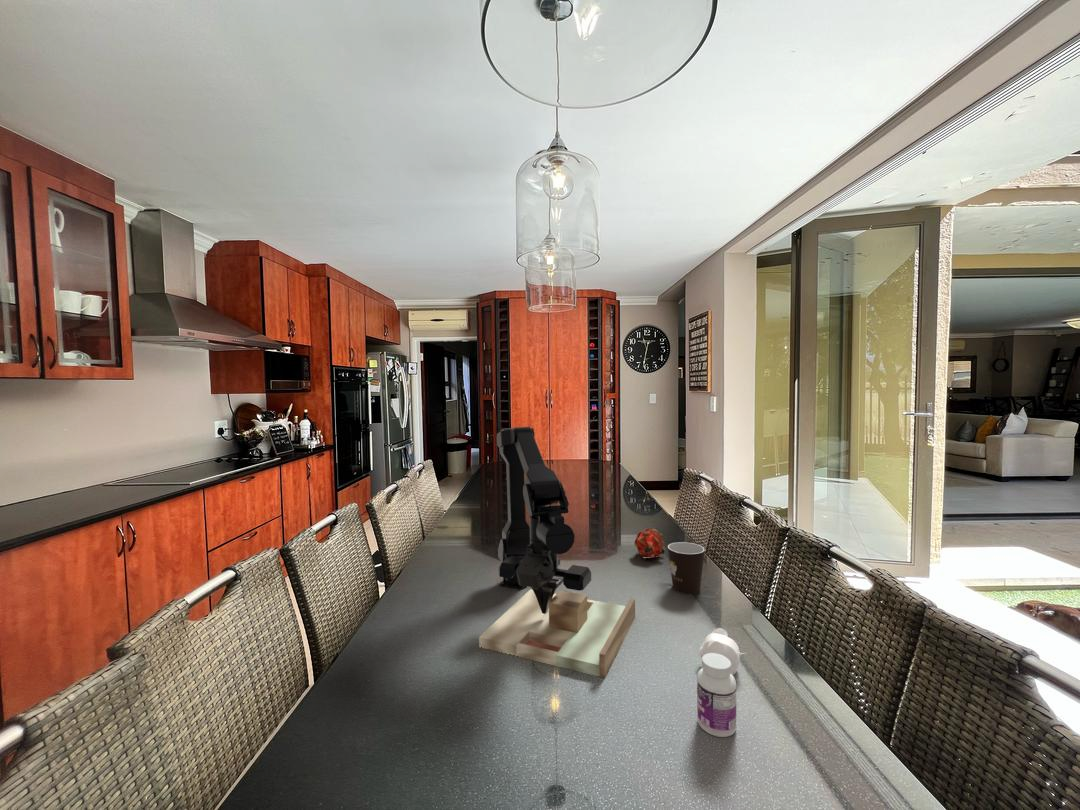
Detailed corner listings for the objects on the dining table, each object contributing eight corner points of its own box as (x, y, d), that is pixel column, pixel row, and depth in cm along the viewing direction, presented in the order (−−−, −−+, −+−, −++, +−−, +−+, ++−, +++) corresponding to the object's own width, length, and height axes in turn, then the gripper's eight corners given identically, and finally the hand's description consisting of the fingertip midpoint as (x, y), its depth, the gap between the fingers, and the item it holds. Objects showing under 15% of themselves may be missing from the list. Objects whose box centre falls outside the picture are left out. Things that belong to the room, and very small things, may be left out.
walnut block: (549, 627, 92) (548, 602, 92) (560, 613, 98) (559, 590, 98) (577, 633, 90) (577, 607, 90) (587, 619, 95) (587, 595, 95)
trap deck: (479, 647, 89) (478, 626, 89) (530, 597, 110) (530, 580, 110) (605, 678, 79) (604, 654, 79) (635, 616, 100) (635, 598, 100)
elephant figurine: (700, 653, 86) (699, 621, 86) (747, 663, 82) (747, 630, 82) (695, 673, 80) (695, 639, 80) (746, 685, 76) (746, 650, 76)
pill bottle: (691, 713, 70) (690, 650, 70) (725, 711, 70) (724, 648, 70) (707, 740, 64) (706, 672, 64) (743, 737, 65) (743, 670, 65)
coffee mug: (707, 597, 109) (707, 555, 108) (669, 594, 110) (669, 553, 110) (700, 577, 120) (700, 539, 120) (666, 575, 122) (665, 537, 122)
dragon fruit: (654, 554, 142) (651, 574, 131) (630, 537, 143) (626, 556, 132) (670, 534, 139) (669, 553, 128) (647, 517, 141) (643, 534, 129)
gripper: (484, 544, 92) (485, 622, 92) (572, 557, 84) (573, 641, 85) (510, 528, 102) (511, 599, 102) (591, 539, 94) (592, 614, 95)
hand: (544, 613), depth 96 cm, fingers closed
